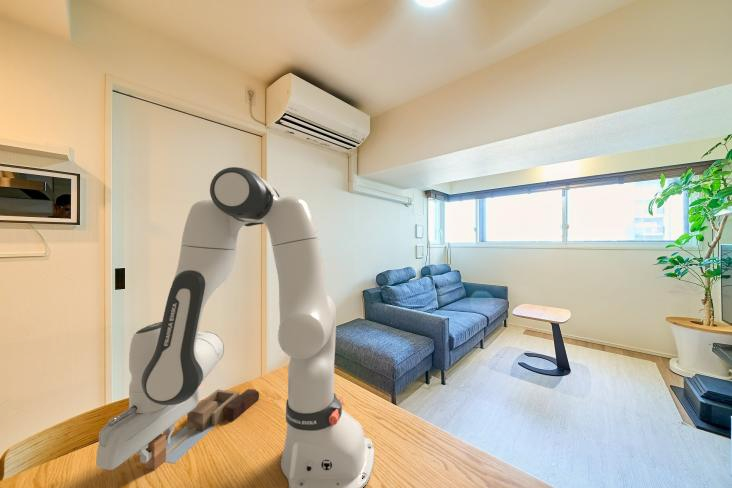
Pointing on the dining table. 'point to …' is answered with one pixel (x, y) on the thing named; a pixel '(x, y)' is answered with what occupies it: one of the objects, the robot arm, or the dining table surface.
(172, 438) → the shelf lane
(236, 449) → the dining table surface
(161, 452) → the tethered block
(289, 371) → the robot arm
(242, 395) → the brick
